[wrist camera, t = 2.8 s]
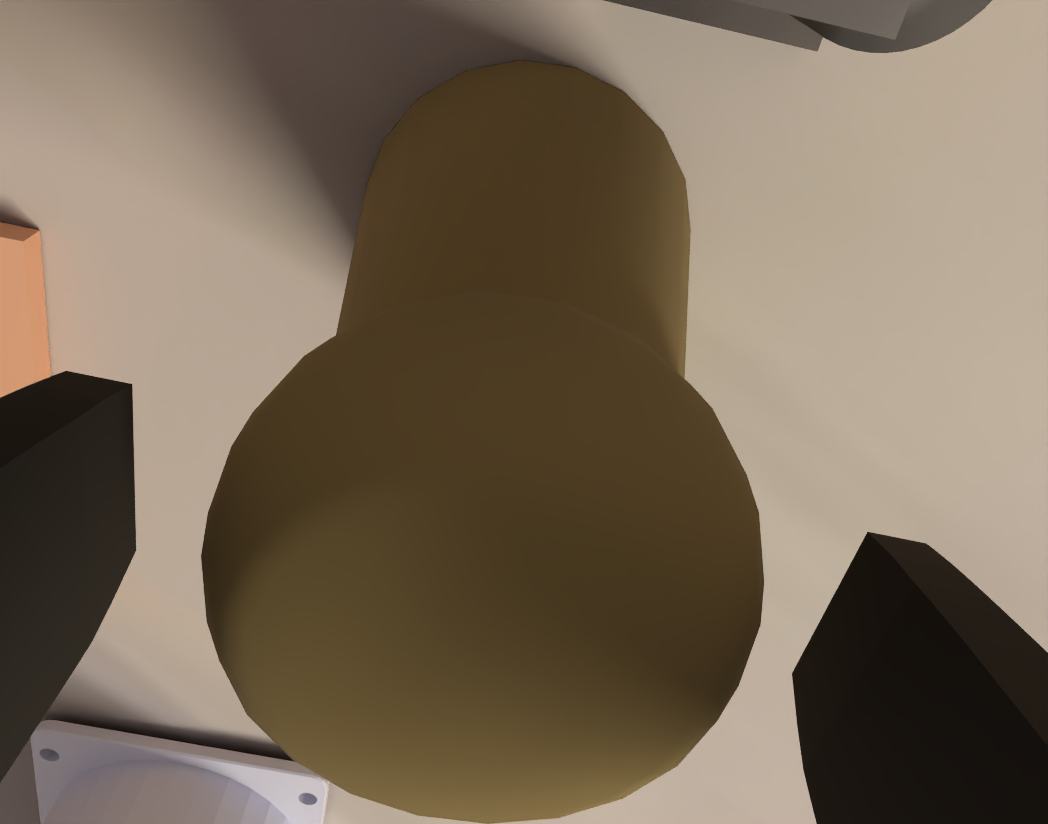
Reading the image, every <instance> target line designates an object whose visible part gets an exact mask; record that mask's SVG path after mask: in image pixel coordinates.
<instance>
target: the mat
mask: <svg viewBox="0 0 1048 824" xmlns="http://www.w3.org/2000/svg"><path fill="white" fill-rule="evenodd" d="M48 377H51V370H50V357H49V344H48V331H47V318H46V304H45V291H44V278H43V265H42V252H41V239H40V230H36V229H31V228H26V227H21V226H17V225H12V224H7V223H2V222H0V397H2V396H5V395H7V394H9V393H12V392H14V391H16V390H19V389H21V388H23V387H26V386H28V385H31V384H33V383H35V382H38V381H40V380H43V379H46V378H48Z"/></svg>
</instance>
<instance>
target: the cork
mask: <svg viewBox="0 0 1048 824" xmlns="http://www.w3.org/2000/svg"><path fill="white" fill-rule="evenodd" d="M689 254H690V220H689V210H688V200H687V191H686V181H685V178H684V175H683V173H682V171H681V169H680V167H679V165H678V163H677V160H676V158H675V156H674V154H673V152H672V150H671V147H670V145H669V143H668V141H667V139H666V137H665V135H664V132H663V131H662V130H661V129H660V128H659V127H658V126H657V125H656V124H655V123H654V122H653V121H652V120H651V119H650V118H649V117H648V116H647V115H646V114H645V113H644V111H643V110H642V109H641V108H640V107H639V106H638V105H637V104H636V103H635V102H634V101H633V100H632V99H631V98H630V97H629V96H628V95H627V94H626V93H625V92H623V91H621V90H619V89H617V88H615V87H613V86H611V85H609V84H607V83H605V82H603V81H601V80H599V79H597V78H595V77H593V76H591V75H589V74H587V73H585V72H583V71H581V70H579V69H577V68H575V67H567V66H560V65H553V64H546V63H538V62H531V61H524V60H517V61H512V62H507V63H502V64H497V65H492V66H487V67H482V68H477V69H472V70H467V71H464V72H462V73H461V74H459V75H457V76H456V77H454V78H452V79H450V80H449V81H447V82H445V83H444V84H442V85H440V86H439V87H437V88H435V89H433V90H432V91H430V92H428V93H427V94H425V95H423V96H422V97H420V98H418V99H417V101H416V102H415V103H414V104H413V105H412V107H411V108H410V109H409V110H408V111H407V112H406V114H405V115H404V116H403V117H402V118H401V120H400V121H399V122H398V123H397V124H396V126H395V127H394V128H393V129H392V130H391V131H390V133H389V134H388V135H387V136H386V137H385V139H384V141H383V144H382V146H381V149H380V152H379V154H378V157H377V160H376V162H375V165H374V167H373V170H372V173H371V175H370V178H369V181H368V183H367V186H366V191H365V195H364V200H363V205H362V210H361V215H360V220H359V225H358V230H357V235H356V240H355V245H354V250H353V254H352V259H351V264H350V269H349V274H348V279H347V284H346V289H345V294H344V299H343V304H342V309H341V314H340V318H339V323H338V328H337V333H336V336H334V337H333V338H331V339H329V340H328V341H326V342H325V343H323V344H322V345H320V346H319V347H317V348H316V349H314V350H313V351H311V352H310V353H308V354H307V355H305V356H304V357H303V358H302V359H301V360H300V361H299V362H298V363H297V365H296V366H295V367H294V368H293V369H292V370H291V371H290V372H289V373H288V374H287V375H286V377H285V378H284V379H283V380H282V381H281V382H280V383H279V384H278V385H277V386H276V387H275V389H274V390H273V391H272V392H271V393H270V394H269V395H268V396H267V397H266V398H265V399H264V401H263V402H262V403H261V404H260V405H259V406H258V407H257V408H256V409H255V410H254V412H253V413H252V415H251V416H250V418H249V419H248V421H247V423H246V424H245V426H244V427H243V429H242V431H241V432H240V434H239V435H238V437H237V439H236V440H235V442H234V443H233V445H232V447H231V449H230V452H229V455H228V458H227V461H226V464H225V466H224V469H223V472H222V475H221V478H220V481H219V483H218V486H217V489H216V492H215V495H214V498H213V500H212V503H211V506H210V509H209V512H208V516H207V523H206V529H205V535H204V542H203V548H202V554H201V560H202V571H203V583H204V595H205V606H206V618H207V623H208V627H209V630H210V633H211V636H212V639H213V642H214V645H215V648H216V651H217V655H218V658H219V661H220V663H221V665H222V667H223V669H224V671H225V673H226V674H227V676H228V678H229V680H230V682H231V684H232V686H233V688H234V690H235V692H236V694H237V696H238V698H239V700H240V702H241V704H242V706H243V708H244V710H245V712H246V713H247V715H248V716H249V717H250V718H251V719H252V720H253V721H254V722H255V723H256V724H257V725H258V726H259V727H260V728H261V729H262V730H263V731H264V732H265V733H266V734H267V735H268V736H269V737H270V738H271V739H272V740H273V741H274V742H275V743H276V744H277V745H278V746H279V747H280V748H281V749H282V750H283V751H284V752H285V753H286V754H287V755H288V756H289V757H290V758H291V759H292V760H294V761H295V762H297V763H299V764H301V765H302V766H304V767H306V768H307V769H309V770H311V771H313V772H314V773H316V774H318V775H320V776H321V777H323V778H325V779H326V780H328V781H330V782H332V783H333V784H335V785H337V786H338V787H340V788H342V789H344V790H345V791H347V792H349V793H351V794H353V795H356V796H359V797H362V798H365V799H368V800H371V801H375V802H378V803H381V804H384V805H387V806H390V807H393V808H396V809H399V810H403V811H406V812H409V813H412V814H415V815H418V816H427V817H435V818H444V819H453V820H461V821H470V822H479V823H487V824H490V823H502V822H515V821H527V820H540V819H552V818H560V817H563V816H566V815H570V814H573V813H576V812H580V811H583V810H586V809H590V808H593V807H596V806H600V805H603V804H606V803H610V802H613V801H616V800H620V799H623V798H624V797H626V796H628V795H629V794H631V793H633V792H634V791H636V790H638V789H639V788H641V787H643V786H644V785H646V784H648V783H649V782H651V781H653V780H654V779H656V778H658V777H659V776H661V775H663V774H664V773H666V772H668V771H670V770H671V769H673V768H675V767H676V766H678V765H679V763H680V762H681V761H682V760H683V759H684V758H685V757H686V755H687V754H688V753H689V752H690V751H691V750H692V749H693V748H694V746H695V745H696V744H697V743H698V742H699V741H700V740H701V738H702V737H703V736H704V735H705V734H706V733H707V732H708V731H709V729H710V728H711V727H712V726H713V725H714V724H715V723H716V721H717V720H718V719H719V717H720V715H721V714H722V712H723V710H724V709H725V707H726V705H727V704H728V702H729V700H730V699H731V697H732V696H733V694H734V692H735V691H736V689H737V687H738V686H739V683H740V680H741V677H742V675H743V672H744V669H745V666H746V663H747V661H748V658H749V655H750V652H751V650H752V647H753V644H754V641H755V638H756V636H757V633H758V630H759V627H760V624H761V612H762V600H763V588H764V575H763V562H762V548H761V535H760V521H759V512H758V509H757V506H756V502H755V499H754V496H753V493H752V490H751V487H750V484H749V481H748V478H747V475H746V473H745V471H744V469H743V467H742V465H741V463H740V461H739V459H738V457H737V455H736V453H735V451H734V449H733V447H732V446H731V444H730V442H729V440H728V438H727V436H726V434H725V432H724V430H723V428H722V426H721V424H720V422H719V420H718V418H717V416H716V414H715V413H714V411H713V409H712V408H711V406H710V405H709V404H708V403H707V402H706V401H705V400H704V399H703V398H702V397H701V395H700V394H699V393H698V392H697V391H696V390H695V389H694V388H693V387H692V386H691V385H690V384H689V383H688V382H687V381H686V380H685V379H684V377H685V352H686V328H687V303H688V279H689Z"/></svg>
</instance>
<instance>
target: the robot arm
mask: <svg viewBox="0 0 1048 824" xmlns="http://www.w3.org/2000/svg"><path fill="white" fill-rule="evenodd" d="M135 551H136V528H135V485H134V443H133V400H132V384H129V383H124V382H119V381H114V380H109V379H104V378H99V377H94V376H89V375H84V374H79V373H74V372H69V371H65V372H62V373H59V374H57V375H54V376H51V377H48V378H46V379H43V380H40V381H38V382H35V383H33V384H31V385H28V386H26V387H23V388H21V389H19V390H16V391H14V392H12V393H9V394H7V395H5V396H2V397H0V782H1V781H2V779H3V778H4V776H5V775H6V773H7V772H8V770H9V769H10V767H11V766H12V764H13V763H14V761H15V759H16V758H17V756H18V755H19V753H20V752H21V750H22V749H23V747H24V746H25V744H26V743H27V741H28V740H29V738H30V740H31V749H32V757H33V765H34V774H35V782H36V790H37V799H38V807H39V815H40V824H324V817H325V811H326V805H327V798H328V792H329V785H330V781H328V780H326V779H325V778H323V777H321V776H320V775H318V774H316V773H314V772H313V771H311V770H309V769H307V768H306V767H304V766H302V765H301V764H299V763H297V762H295V761H289V760H283V759H277V758H272V757H266V756H260V755H254V754H248V753H243V752H237V751H231V750H225V749H219V748H214V747H208V746H202V745H196V744H191V743H185V742H179V741H173V740H167V739H162V738H156V737H150V736H144V735H138V734H133V733H127V732H121V731H115V730H109V729H104V728H98V727H92V726H86V725H81V724H75V723H69V722H63V721H57V720H45V721H41V720H42V718H43V717H44V715H45V714H46V712H47V711H48V709H49V708H50V706H51V705H52V703H53V702H54V700H55V698H56V697H57V695H58V694H59V692H60V691H61V689H62V688H63V686H64V685H65V683H66V681H67V680H68V678H69V677H70V675H71V674H72V672H73V671H74V669H75V668H76V666H77V665H78V663H79V661H80V660H81V658H82V657H83V655H84V653H85V652H86V650H87V649H88V647H89V646H90V644H91V642H92V641H93V639H94V637H95V635H96V633H97V631H98V629H99V627H100V625H101V623H102V621H103V619H104V617H105V615H106V613H107V611H108V609H109V607H110V605H111V603H112V601H113V599H114V596H115V594H116V592H117V590H118V588H119V586H120V584H121V581H122V579H123V577H124V575H125V573H126V571H127V569H128V566H129V564H130V562H131V560H132V558H133V556H134V554H135ZM792 677H793V687H794V697H795V706H796V716H797V726H798V733H799V740H800V748H801V755H802V762H803V769H804V774H805V778H806V782H807V786H808V790H809V795H810V799H811V803H812V807H813V811H814V814H815V818H816V822H817V824H1048V653H1047V652H1046V651H1045V650H1044V649H1043V648H1042V647H1041V646H1040V645H1039V644H1038V643H1037V642H1036V641H1035V640H1034V639H1033V638H1032V637H1031V636H1029V635H1028V634H1027V633H1026V632H1025V631H1024V630H1023V629H1022V628H1021V627H1020V626H1019V625H1018V624H1017V623H1016V622H1015V621H1014V620H1013V619H1011V618H1010V617H1009V616H1008V615H1007V614H1006V613H1005V612H1004V611H1003V610H1002V609H1001V608H1000V607H999V606H998V605H997V604H995V603H994V602H993V601H992V600H991V599H990V598H989V597H988V596H987V595H986V594H985V593H983V592H982V591H981V590H980V589H979V588H978V587H977V586H976V585H975V584H974V583H973V582H972V581H970V580H969V579H968V578H967V577H966V576H965V575H964V574H963V573H961V572H960V571H959V570H958V569H957V568H956V567H955V566H953V565H952V564H951V563H950V562H949V561H947V560H946V559H945V558H944V557H943V556H941V555H940V554H939V553H938V552H936V551H935V550H934V549H933V548H931V547H930V546H929V545H927V544H926V543H921V542H916V541H911V540H906V539H901V538H896V537H891V536H886V535H881V534H876V533H871V532H867V534H866V536H865V538H864V540H863V542H862V544H861V545H860V547H859V549H858V551H857V553H856V555H855V557H854V559H853V560H852V562H851V564H850V566H849V568H848V570H847V572H846V574H845V575H844V577H843V579H842V581H841V583H840V585H839V587H838V589H837V590H836V592H835V594H834V596H833V598H832V600H831V602H830V604H829V605H828V607H827V609H826V611H825V613H824V615H823V617H822V619H821V620H820V622H819V624H818V626H817V628H816V630H815V632H814V633H813V635H812V637H811V639H810V641H809V643H808V645H807V647H806V648H805V650H804V652H803V654H802V656H801V658H800V660H799V662H798V663H797V665H796V667H795V669H794V671H793V673H792Z"/></svg>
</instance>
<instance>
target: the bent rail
mask: <svg viewBox="0 0 1048 824" xmlns="http://www.w3.org/2000/svg"><path fill="white" fill-rule="evenodd" d="M605 1H609V2H613V3H617V4H621V5H626V6H630V7H634V8H638V9H642V10H646V11H651V12H655V13H659V14H663V15H667V16H672V17H676V18H680V19H684V20H688V21H692V22H697V23H701V24H705V25H709V26H713V27H717V28H722V29H726V30H730V31H734V32H738V33H743V34H747V35H751V36H755V37H759V38H763V39H768V40H772V41H776V42H780V43H784V44H789V45H793V46H797V47H801V48H805V49H809V50H814V51H818V49H819V46H820V43H821V40H822V38H823V37H824V38H826V39H828V40H830V41H832V42H834V43H836V44H838V45H840V46H843V47H846V48H850V49H853V50H857V51H863V52H870V53H889V52H898V51H905V50H909V49H913V48H917V47H920V46H923V45H926V44H928V43H931V42H934V41H936V40H938V39H940V38H942V37H944V36H946V35H948V34H950V33H952V32H953V31H955V30H956V29H958V28H959V27H961V26H962V25H964V24H965V23H967V22H968V21H970V20H971V19H972V18H973V17H975V16H976V15H977V14H978V13H979V12H981V11H982V10H983V9H984V8H985V7H986V6H987V5H988V4H989V3H990V2H991V1H992V0H605Z"/></svg>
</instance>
